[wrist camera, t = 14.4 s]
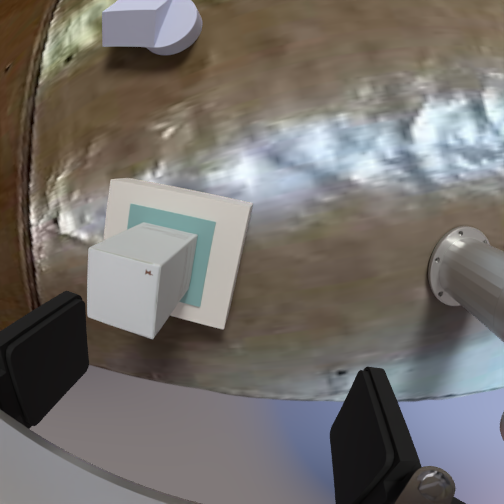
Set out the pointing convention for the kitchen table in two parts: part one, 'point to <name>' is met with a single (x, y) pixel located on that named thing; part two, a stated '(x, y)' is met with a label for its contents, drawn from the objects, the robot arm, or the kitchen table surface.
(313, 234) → the kitchen table surface
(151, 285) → the supplement box
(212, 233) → the stand
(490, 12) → the kitchen table surface
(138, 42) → the wedge on round base
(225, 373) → the kitchen table surface
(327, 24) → the kitchen table surface
